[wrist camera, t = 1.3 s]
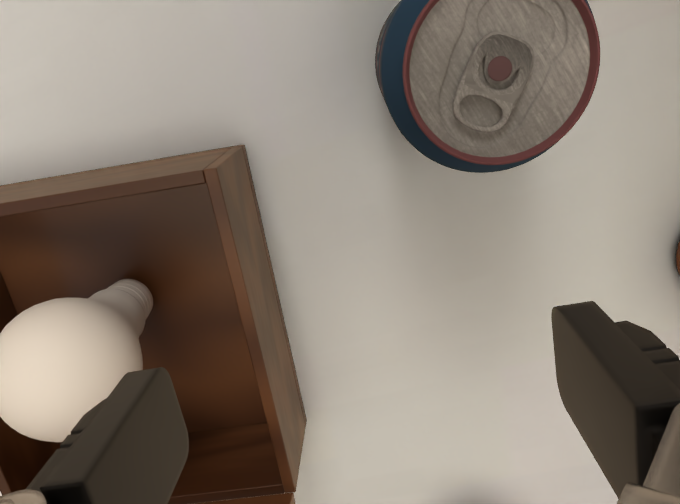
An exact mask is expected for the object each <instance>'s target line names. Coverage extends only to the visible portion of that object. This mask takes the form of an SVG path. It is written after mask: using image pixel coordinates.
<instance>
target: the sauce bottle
mask: <svg viewBox="0 0 680 504" xmlns="http://www.w3.org/2000/svg"><path fill="white" fill-rule="evenodd" d="M676 265H677V268H678V272H679V275H680V241H679V243H678V250H677V253H676Z"/></svg>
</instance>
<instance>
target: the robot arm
mask: <svg viewBox="0 0 680 504" xmlns="http://www.w3.org/2000/svg"><path fill="white" fill-rule="evenodd" d="M552 329H553V341H554V353H555V365H556V376H557V383H558V388H559V392H560V396H561V399H562V401H563V404H564V406H565V408H566V410H567V412H568V414H569V415H570V417H571V419H572V420H573V422H574V424H575V425H576V427H577V429H578V431H579V432H580V434H581V436H582V437H583V439H584V441H585V442H586V444H587V446H588V448H589V449H590V451H591V453H592V454H593V456H594V458H595V459H596V461H597V463H598V465H599V466H600V468H601V470H602V471H603V473H604V475H605V476H606V478H607V480H608V482H609V483H610V485H611V487H612V488H613V490H614V492H615V493H616V495H617V497H618V499H619V500H618V502H617V504H680V360H679V357H678V356H677V355H676V354H675V353H674V352H673V351H671V350H670V349H669V348H666V345H665V344H664V343H663V342H662V341H661V340H660V339H659V338H658V337H656V336H655V335H654V334H653V333H652V332H651V331H649V330H647V329H645V328H642V327H640V326H638V325H635V324H633V323H631V322H628V321H622V322H616V323H614V322H613V321H612V320H611V319H610V317H609V316H608V315H607V314H606V313H605V312H604V311H603V310H602V309H601V308H600V307H599V306H598V305H597V304H596V303H595V302H593V301H589V302H583V303H576V304H570V305H563V306H557V307H554V308H553V309H552ZM188 452H189V437H188V431H187V427H186V424H185V421H184V418H183V415H182V411H181V408H180V405H179V402H178V399H177V396H176V392H175V389H174V386H173V383H172V380H171V377H170V375H169V373H168V371H167V370H166V369H165V368H163V367H159V368H152V369H146V370H140V371H133V372H128V373H126V374H125V375H124V376H123V378H122V379H121V380H120V382H119V383H118V384H117V386H116V387H115V388H114V390H113V391H112V392H111V393H110V395H109V396H108V397H107V399H104V400H103V401H101V402H100V403H99V404H97V405H96V406H95V407H93V408H92V409H91V410H90V411H88V412H87V413H86V414H84V415H83V417H82V418H81V419H80V420H79V422H78V423H77V424H76V425H75V427H74V428H73V429H72V431H71V435H68V436H67V437H66V438H65V439H64V441H63V442H62V443H61V445H60V449H57V450H56V451H55V452H54V453H53V455H52V456H51V457H50V459H49V460H48V461H47V462H46V464H45V465H44V466H43V467H42V469H41V470H40V471H39V473H38V474H37V475H36V476H35V478H34V479H33V480H32V481H31V483H30V484H29V485H28V487H27V488H26V489H25V490H19V491H15V492H11V493H8V494H5V495H2V496H0V504H168V502H169V500H170V497H171V495H172V493H173V490H174V488H175V486H176V484H177V481H178V479H179V477H180V474H181V472H182V470H183V468H184V465H185V463H186V461H187V457H188Z"/></svg>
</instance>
